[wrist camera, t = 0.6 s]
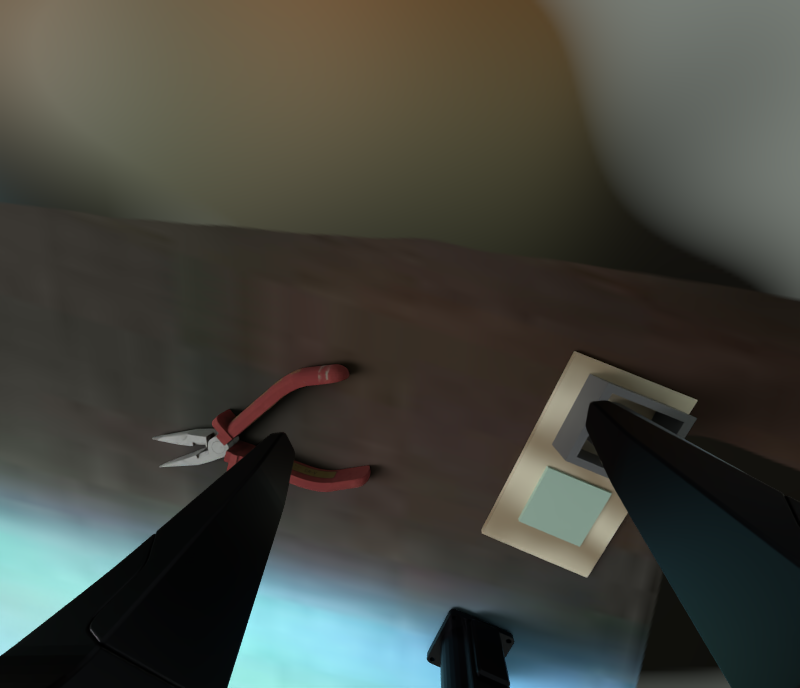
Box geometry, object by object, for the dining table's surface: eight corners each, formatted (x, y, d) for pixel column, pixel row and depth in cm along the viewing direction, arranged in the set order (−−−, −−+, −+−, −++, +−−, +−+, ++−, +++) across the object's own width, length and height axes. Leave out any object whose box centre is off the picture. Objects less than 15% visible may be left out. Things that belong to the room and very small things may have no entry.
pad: (578, 544, 26) (579, 546, 26) (518, 518, 26) (519, 521, 26) (609, 491, 25) (611, 493, 25) (546, 465, 25) (548, 467, 25)
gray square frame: (626, 474, 25) (648, 494, 22) (551, 444, 25) (565, 460, 22) (668, 405, 23) (697, 418, 21) (589, 373, 24) (608, 382, 21)
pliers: (150, 391, 29) (123, 400, 26) (349, 357, 26) (341, 364, 24) (185, 496, 30) (162, 515, 28) (375, 475, 28) (369, 493, 25)
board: (584, 573, 27) (587, 577, 26) (481, 529, 27) (482, 533, 27) (693, 398, 23) (697, 400, 23) (574, 350, 24) (576, 351, 23)
